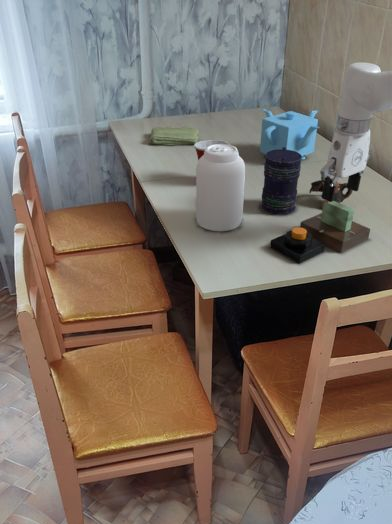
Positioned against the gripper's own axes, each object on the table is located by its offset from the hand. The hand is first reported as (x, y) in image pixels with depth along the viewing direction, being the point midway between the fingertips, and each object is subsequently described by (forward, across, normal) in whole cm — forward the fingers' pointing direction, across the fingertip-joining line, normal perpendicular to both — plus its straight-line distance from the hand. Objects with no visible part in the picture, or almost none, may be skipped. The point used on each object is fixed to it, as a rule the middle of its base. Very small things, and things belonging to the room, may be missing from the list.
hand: (339, 194), depth 135 cm
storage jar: (+12, +1, +20) cm, 24 cm away
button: (+8, -13, +1) cm, 15 cm away
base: (+11, 0, 0) cm, 11 cm away
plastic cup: (+12, -2, +46) cm, 48 cm away
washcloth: (+13, +13, +84) cm, 86 cm away
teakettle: (+12, +33, +46) cm, 58 cm away
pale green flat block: (+8, 0, 0) cm, 8 cm away
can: (+12, -18, +24) cm, 33 cm away
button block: (+11, -13, 0) cm, 17 cm away
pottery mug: (+12, +15, +14) cm, 23 cm away
